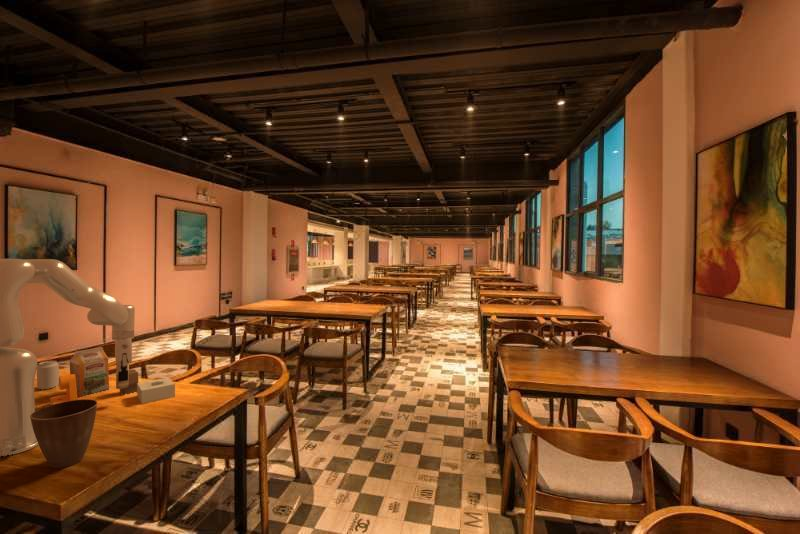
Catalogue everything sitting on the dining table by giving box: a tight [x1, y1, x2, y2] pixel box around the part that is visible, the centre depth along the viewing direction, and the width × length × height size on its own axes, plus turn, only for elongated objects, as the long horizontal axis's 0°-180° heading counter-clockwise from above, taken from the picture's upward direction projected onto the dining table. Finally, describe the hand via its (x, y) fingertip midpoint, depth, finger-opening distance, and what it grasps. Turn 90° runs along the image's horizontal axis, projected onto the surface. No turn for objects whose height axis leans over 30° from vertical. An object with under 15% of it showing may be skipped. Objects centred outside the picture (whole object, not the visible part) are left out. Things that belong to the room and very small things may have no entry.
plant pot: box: [30, 398, 98, 469], centre depth 113 cm, size 15×15×16 cm
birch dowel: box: [115, 361, 130, 390], centre depth 158 cm, size 4×4×12 cm
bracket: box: [49, 374, 79, 405], centre depth 156 cm, size 11×7×12 cm, turn 49°
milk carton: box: [69, 346, 110, 398], centre depth 172 cm, size 11×11×19 cm
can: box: [36, 360, 60, 391], centre depth 177 cm, size 8×8×12 cm
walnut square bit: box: [119, 369, 139, 396], centre depth 171 cm, size 6×6×9 cm
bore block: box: [136, 377, 176, 405], centre depth 166 cm, size 12×12×6 cm
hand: (122, 379), depth 158 cm, fingers closed on birch dowel, 4 cm apart
